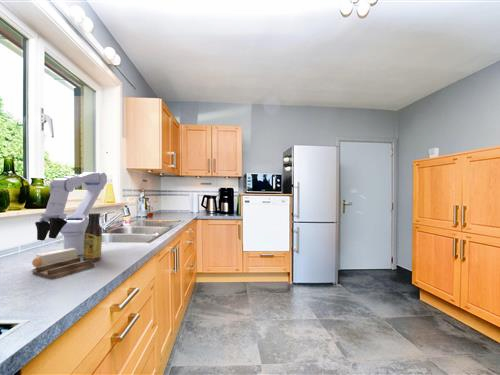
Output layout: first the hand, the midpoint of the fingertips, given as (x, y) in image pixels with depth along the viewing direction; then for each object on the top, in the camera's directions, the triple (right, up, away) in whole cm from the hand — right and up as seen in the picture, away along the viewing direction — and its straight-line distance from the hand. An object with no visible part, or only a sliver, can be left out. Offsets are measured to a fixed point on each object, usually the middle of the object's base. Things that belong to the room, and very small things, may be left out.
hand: (46, 239), depth 91 cm
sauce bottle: (+13, -11, +7) cm, 18 cm away
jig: (+11, -10, -4) cm, 16 cm away
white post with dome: (+2, -11, +3) cm, 11 cm away
